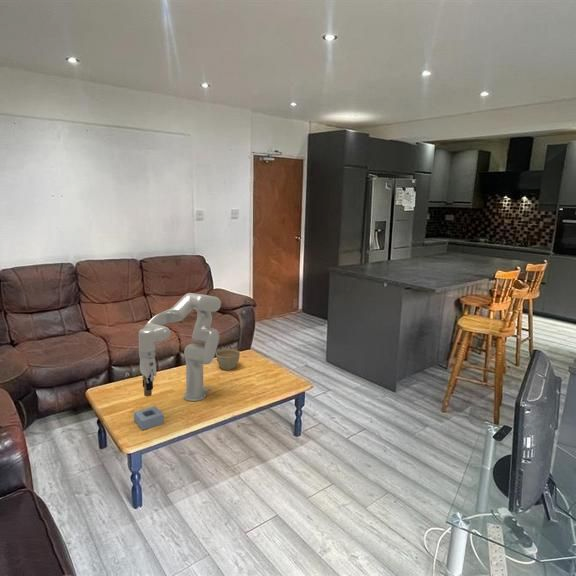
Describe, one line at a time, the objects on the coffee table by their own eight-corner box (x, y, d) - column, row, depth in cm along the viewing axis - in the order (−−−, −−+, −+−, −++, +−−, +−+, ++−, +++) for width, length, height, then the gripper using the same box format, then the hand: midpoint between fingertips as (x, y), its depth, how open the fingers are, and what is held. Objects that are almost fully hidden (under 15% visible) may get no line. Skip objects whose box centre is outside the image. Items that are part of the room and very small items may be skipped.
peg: (150, 392, 209) (149, 370, 206) (152, 395, 206) (152, 372, 204) (143, 394, 206) (142, 372, 204) (145, 397, 204) (145, 374, 201)
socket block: (155, 414, 217) (154, 405, 216) (163, 423, 209) (163, 414, 208) (134, 420, 210) (133, 411, 209) (142, 430, 202) (142, 421, 201)
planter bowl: (210, 367, 281) (210, 352, 278) (228, 361, 293) (228, 346, 291) (226, 374, 271) (226, 359, 268) (244, 367, 283) (244, 352, 281)
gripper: (161, 357, 198) (162, 392, 202) (148, 347, 211) (148, 380, 214) (146, 360, 193) (147, 396, 197) (133, 349, 206) (134, 384, 209)
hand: (147, 387), depth 206 cm, fingers closed on peg, 3 cm apart
